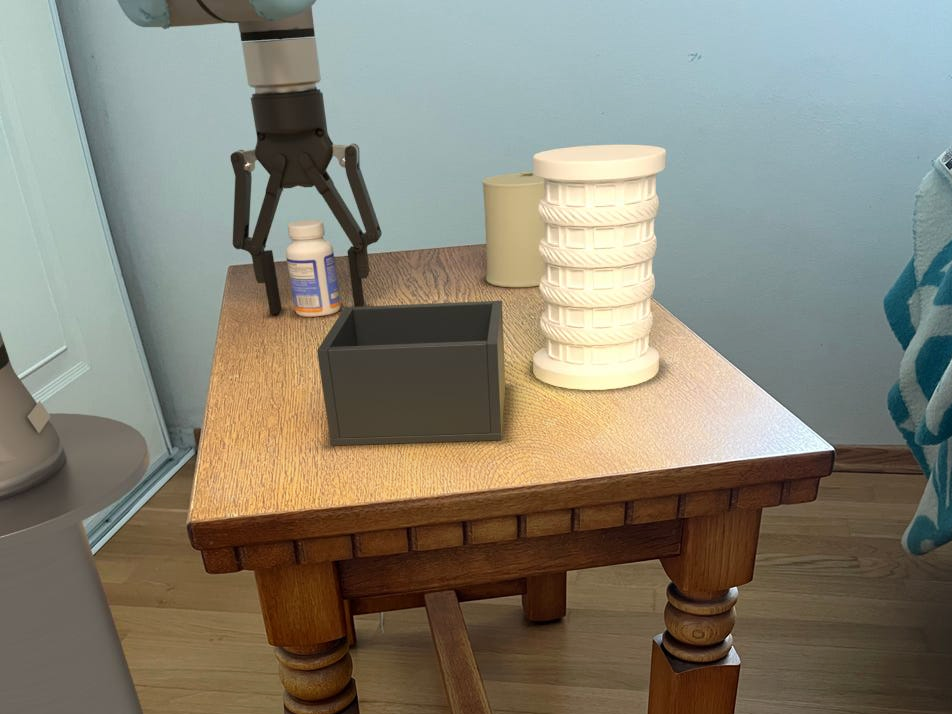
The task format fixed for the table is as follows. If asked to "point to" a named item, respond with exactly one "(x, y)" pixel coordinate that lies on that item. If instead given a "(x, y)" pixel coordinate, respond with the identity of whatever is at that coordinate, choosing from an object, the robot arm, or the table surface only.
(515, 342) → the table surface
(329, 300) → the pill bottle
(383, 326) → the bin
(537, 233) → the can
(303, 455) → the table surface
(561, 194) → the decorative container
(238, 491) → the table surface
